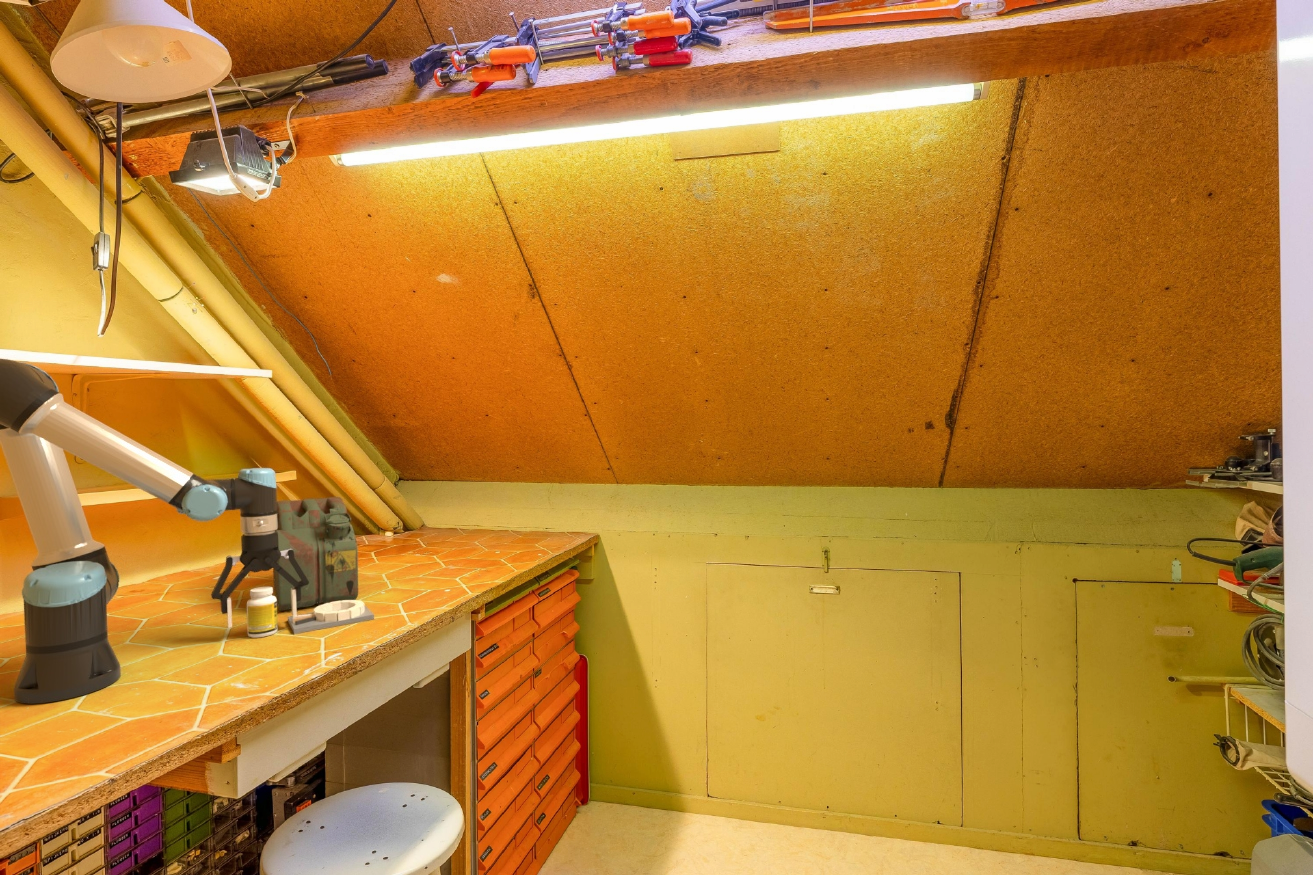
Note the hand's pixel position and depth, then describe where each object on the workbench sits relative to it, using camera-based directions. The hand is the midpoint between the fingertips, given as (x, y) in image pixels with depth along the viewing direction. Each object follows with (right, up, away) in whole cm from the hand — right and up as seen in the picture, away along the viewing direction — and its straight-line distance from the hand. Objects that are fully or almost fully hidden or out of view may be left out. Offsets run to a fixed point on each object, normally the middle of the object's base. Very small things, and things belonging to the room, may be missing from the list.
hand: (262, 620), depth 152 cm
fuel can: (-6, -2, +34) cm, 35 cm away
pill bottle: (0, -3, 0) cm, 3 cm away
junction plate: (+11, -3, +10) cm, 15 cm away
